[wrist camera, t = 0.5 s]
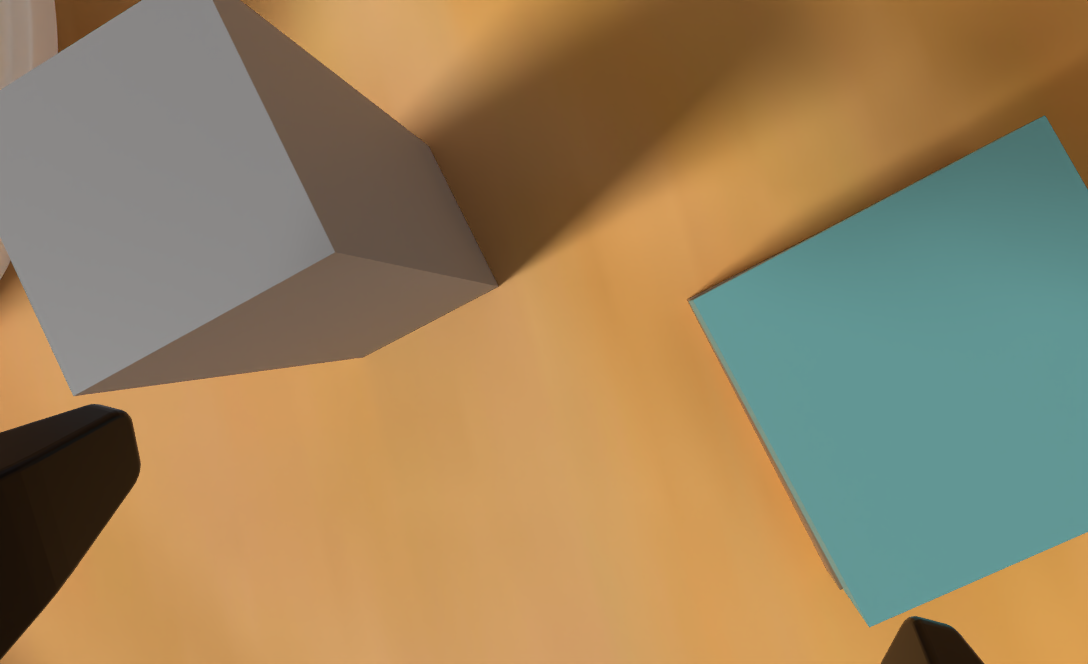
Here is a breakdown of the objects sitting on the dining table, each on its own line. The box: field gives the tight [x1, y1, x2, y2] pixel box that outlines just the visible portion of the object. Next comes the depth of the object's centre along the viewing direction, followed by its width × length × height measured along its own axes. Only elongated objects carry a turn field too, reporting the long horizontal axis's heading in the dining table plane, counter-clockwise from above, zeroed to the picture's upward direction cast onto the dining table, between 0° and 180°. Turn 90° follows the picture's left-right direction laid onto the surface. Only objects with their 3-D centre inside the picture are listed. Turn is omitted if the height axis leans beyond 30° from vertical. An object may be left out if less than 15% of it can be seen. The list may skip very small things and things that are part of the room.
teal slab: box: [689, 116, 1088, 627], centre depth 19 cm, size 9×9×2 cm
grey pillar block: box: [0, 0, 499, 396], centre depth 18 cm, size 5×5×12 cm
